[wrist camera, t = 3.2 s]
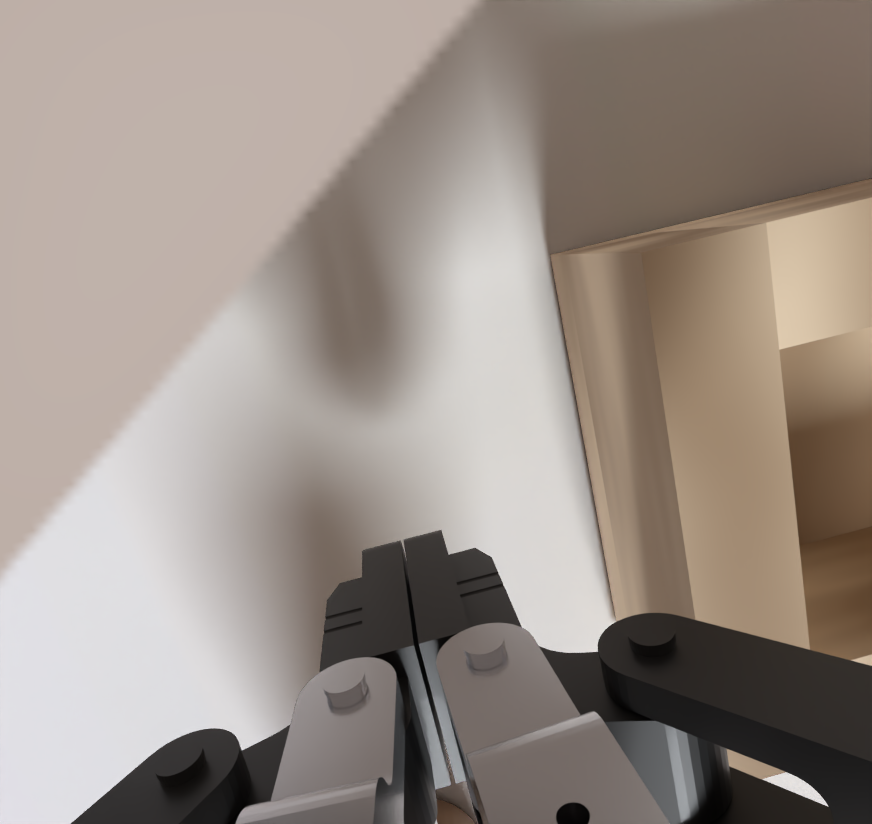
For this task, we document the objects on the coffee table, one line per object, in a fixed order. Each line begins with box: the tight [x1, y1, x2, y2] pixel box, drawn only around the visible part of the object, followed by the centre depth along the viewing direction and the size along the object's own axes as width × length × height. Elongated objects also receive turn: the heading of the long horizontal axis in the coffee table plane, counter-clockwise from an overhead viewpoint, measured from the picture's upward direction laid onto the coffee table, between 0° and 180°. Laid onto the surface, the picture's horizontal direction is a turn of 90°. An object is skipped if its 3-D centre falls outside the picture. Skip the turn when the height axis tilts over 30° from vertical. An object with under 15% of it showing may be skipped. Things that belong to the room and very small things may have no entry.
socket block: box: [550, 178, 872, 779], centre depth 14 cm, size 10×10×5 cm
